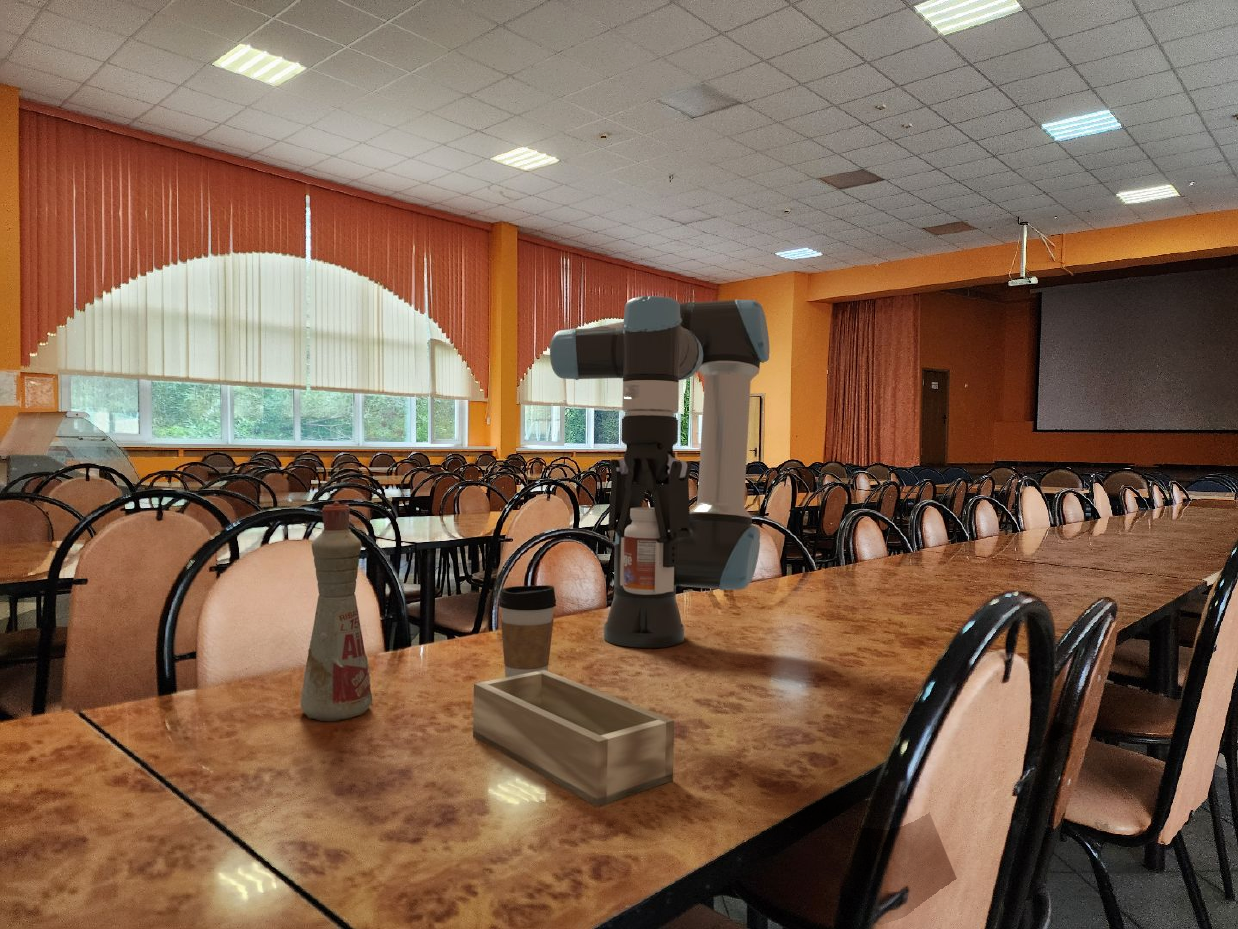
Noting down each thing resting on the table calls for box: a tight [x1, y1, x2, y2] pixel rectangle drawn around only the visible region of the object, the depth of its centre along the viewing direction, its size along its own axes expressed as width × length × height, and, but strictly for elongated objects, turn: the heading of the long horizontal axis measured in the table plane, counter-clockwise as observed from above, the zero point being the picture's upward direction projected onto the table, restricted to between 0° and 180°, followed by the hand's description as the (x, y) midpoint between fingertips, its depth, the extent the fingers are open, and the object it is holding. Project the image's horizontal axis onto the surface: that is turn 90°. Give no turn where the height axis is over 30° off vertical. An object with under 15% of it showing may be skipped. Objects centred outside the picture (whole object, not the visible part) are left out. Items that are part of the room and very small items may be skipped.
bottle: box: [300, 500, 373, 723], centre depth 106 cm, size 9×9×28 cm
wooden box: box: [472, 670, 675, 808], centre depth 92 cm, size 10×24×6 cm, turn 40°
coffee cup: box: [498, 584, 557, 678], centre depth 118 cm, size 8×8×15 cm
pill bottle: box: [623, 506, 670, 595], centre depth 107 cm, size 6×6×11 cm
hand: (646, 587), depth 107 cm, fingers closed on pill bottle, 6 cm apart
